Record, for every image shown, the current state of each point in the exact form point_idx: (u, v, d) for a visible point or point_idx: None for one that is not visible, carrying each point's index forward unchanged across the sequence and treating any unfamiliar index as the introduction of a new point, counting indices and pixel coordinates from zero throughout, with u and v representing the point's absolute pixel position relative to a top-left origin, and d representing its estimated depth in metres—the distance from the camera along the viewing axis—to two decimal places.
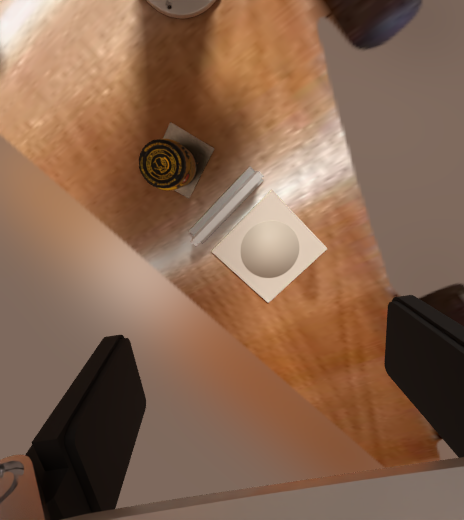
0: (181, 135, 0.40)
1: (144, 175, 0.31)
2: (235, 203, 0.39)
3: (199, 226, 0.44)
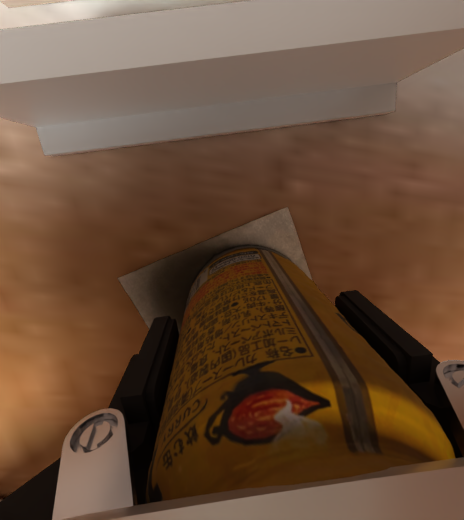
0: None
1: None
2: (145, 23, 0.06)
3: (351, 96, 0.11)
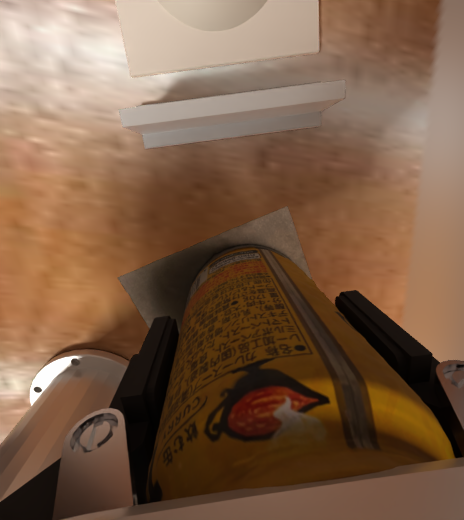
0: None
1: None
2: (206, 101, 0.17)
3: (298, 118, 0.21)
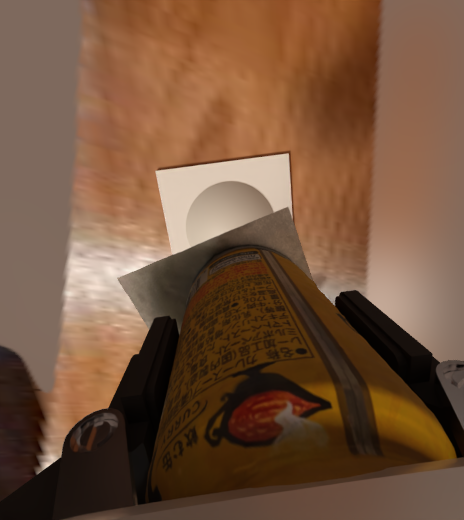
0: None
1: None
2: None
3: None
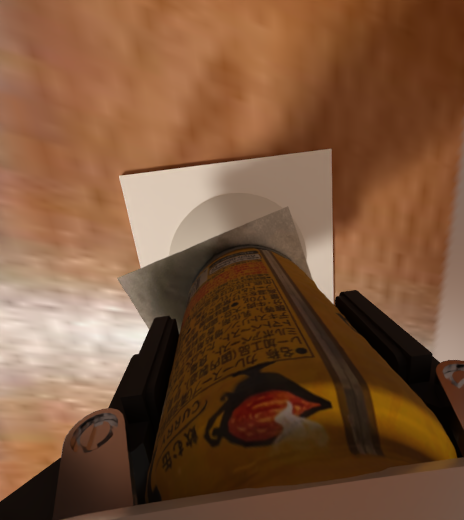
0: None
1: None
2: None
3: None
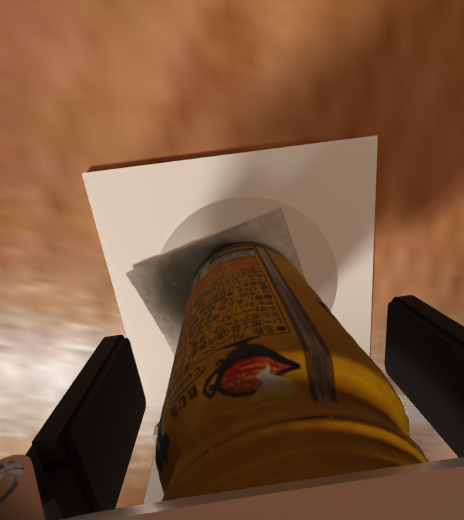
0: None
1: None
2: None
3: None
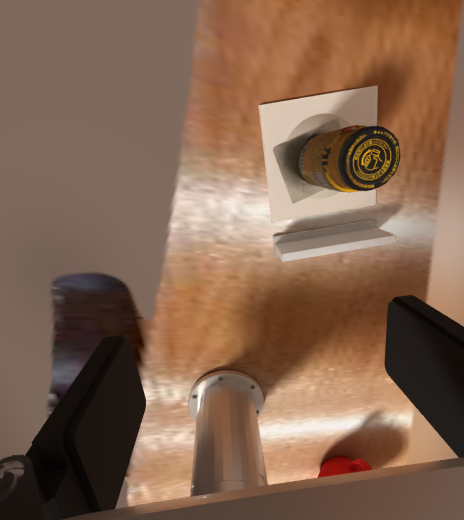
0: (293, 185, 0.35)
1: (397, 162, 0.23)
2: (325, 248, 0.33)
3: None
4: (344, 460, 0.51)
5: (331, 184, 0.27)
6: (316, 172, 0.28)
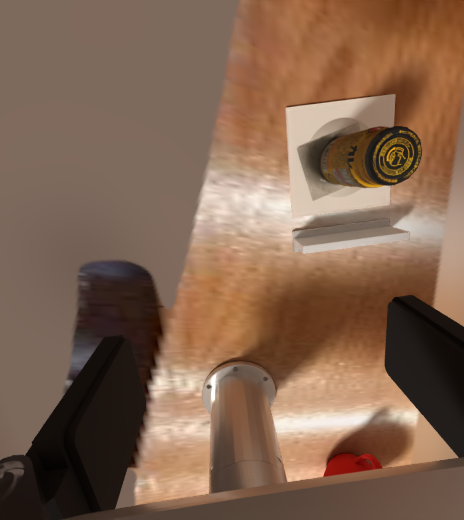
0: (314, 183, 0.37)
1: (419, 160, 0.26)
2: (344, 242, 0.35)
3: None
4: (351, 456, 0.52)
5: (355, 179, 0.29)
6: (340, 169, 0.31)
